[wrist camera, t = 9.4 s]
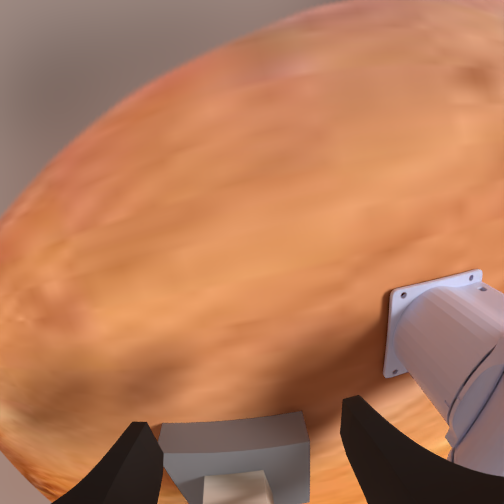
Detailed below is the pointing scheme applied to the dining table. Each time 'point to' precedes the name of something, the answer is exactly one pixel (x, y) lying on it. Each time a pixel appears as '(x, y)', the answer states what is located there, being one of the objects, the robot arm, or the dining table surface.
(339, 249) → the dining table surface
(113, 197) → the dining table surface
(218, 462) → the charcoal box
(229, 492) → the birch block
